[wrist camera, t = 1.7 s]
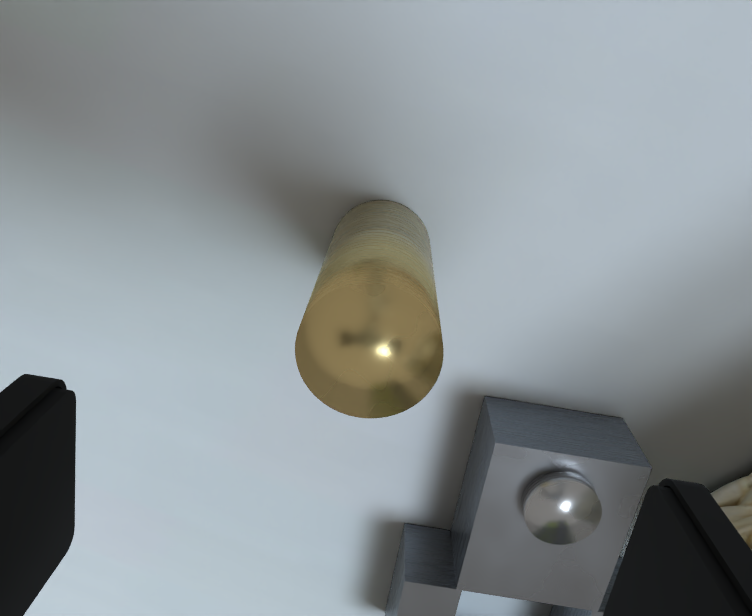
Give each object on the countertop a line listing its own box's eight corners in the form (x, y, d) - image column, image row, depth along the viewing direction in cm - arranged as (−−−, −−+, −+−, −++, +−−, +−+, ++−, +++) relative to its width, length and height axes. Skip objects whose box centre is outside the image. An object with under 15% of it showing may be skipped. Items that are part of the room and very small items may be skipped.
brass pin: (339, 192, 21) (304, 272, 14) (438, 209, 21) (457, 297, 14) (326, 285, 22) (287, 405, 15) (420, 301, 22) (428, 428, 15)
